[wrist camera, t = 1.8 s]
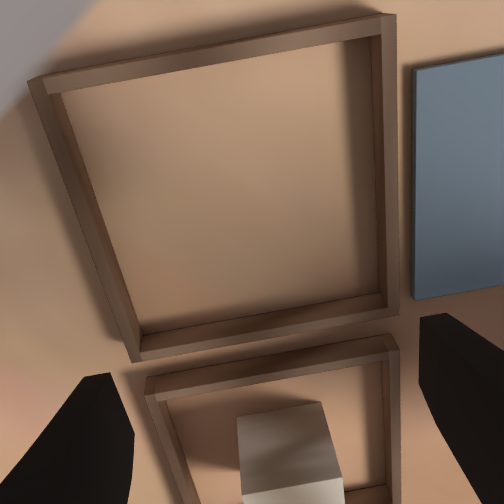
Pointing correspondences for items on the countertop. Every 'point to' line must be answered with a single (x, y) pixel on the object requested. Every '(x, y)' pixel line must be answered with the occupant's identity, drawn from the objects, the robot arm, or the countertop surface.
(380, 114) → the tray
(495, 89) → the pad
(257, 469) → the cube
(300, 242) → the countertop surface
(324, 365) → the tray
